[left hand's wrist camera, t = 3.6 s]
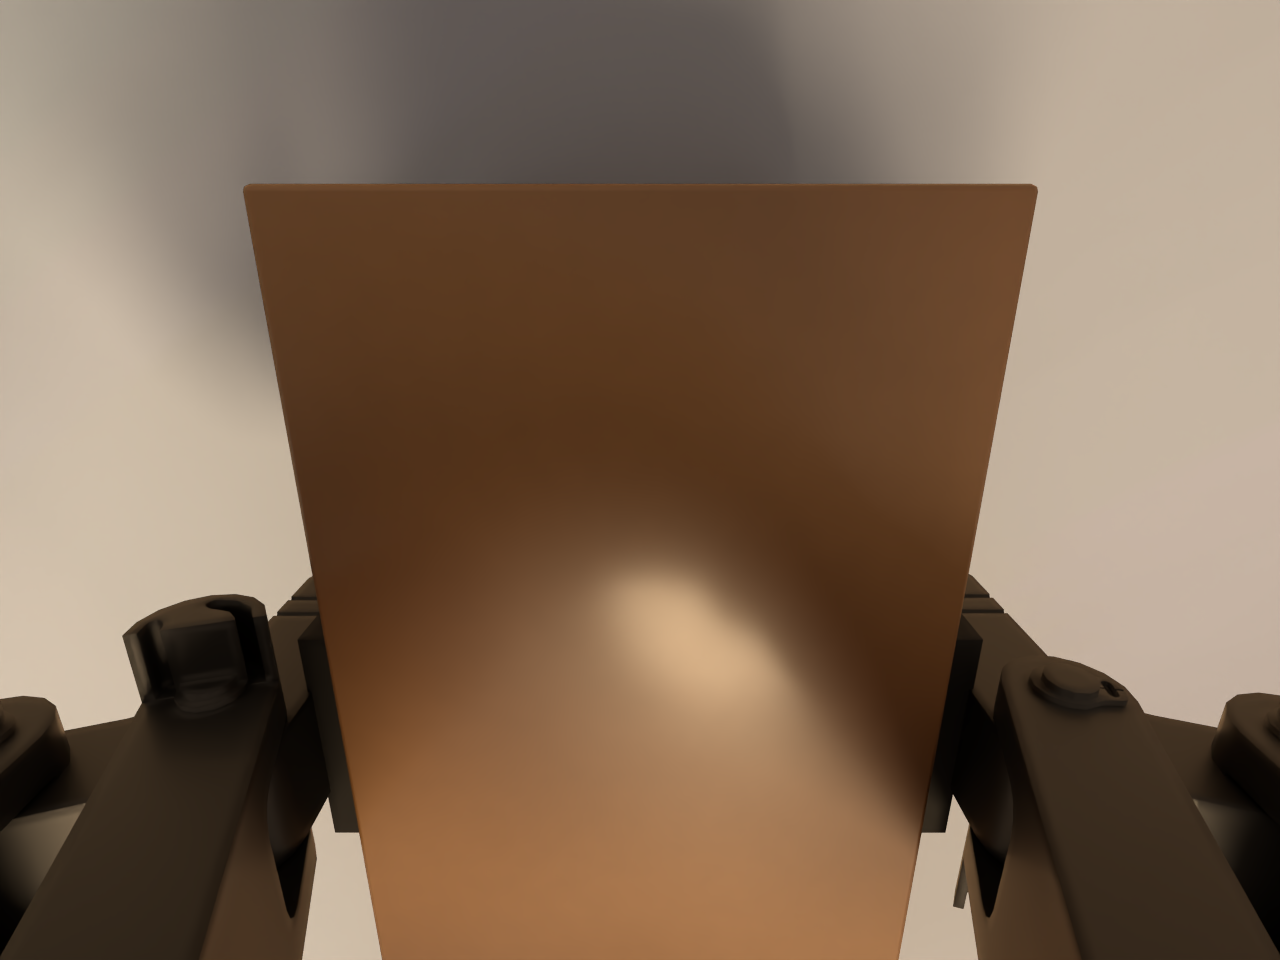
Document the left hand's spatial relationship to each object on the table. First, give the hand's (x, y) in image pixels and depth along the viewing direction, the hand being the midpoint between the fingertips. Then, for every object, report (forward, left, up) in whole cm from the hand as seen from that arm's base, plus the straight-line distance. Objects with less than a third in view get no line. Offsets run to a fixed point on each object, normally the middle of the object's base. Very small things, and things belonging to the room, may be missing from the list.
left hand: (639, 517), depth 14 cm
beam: (+25, -18, 0) cm, 31 cm away
